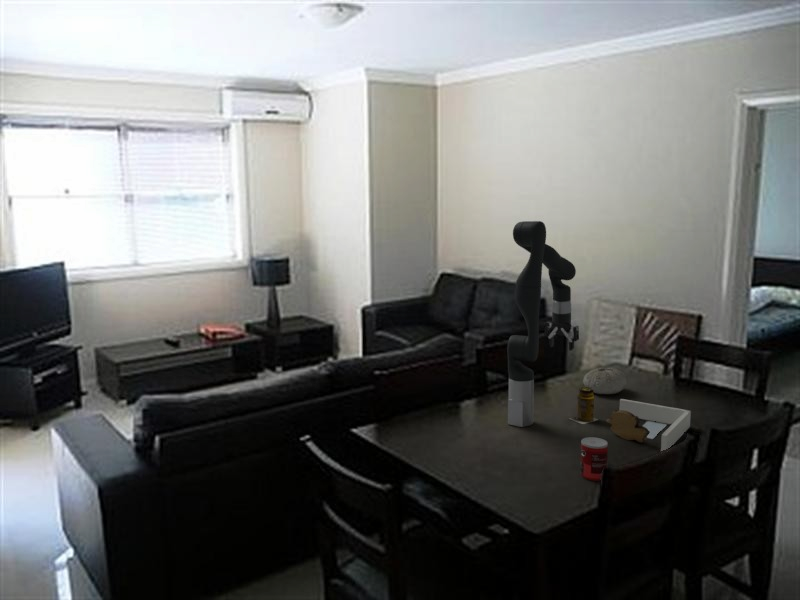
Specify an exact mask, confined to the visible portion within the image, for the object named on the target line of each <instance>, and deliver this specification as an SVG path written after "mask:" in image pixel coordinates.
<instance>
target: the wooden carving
mask: <svg viewBox="0 0 800 600" xmlns="http://www.w3.org/2000/svg"><path fill="white" fill-rule="evenodd" d="M610 416H611V417H609V418H608V419H606V420H605V421H606V422H607V423H608V424H610V425H611V427H609V429H610V430H611V431H612V432H613V433H614V434H615V435H617V436H618V437H620V438H621V439H624V440H627V441H633V440H635V441H637V442H638V443H643V442H645V441H647V439H648V438H647V436H648V434H649V433H650V432H649V431H648V429H647V428H645V427H643V425H639V424H640V419H639V418H638V416H634V415H633V414H632V413H630V412H628V411H624V410H620V411H619V410H618V409H616V410H613V411H612V412H611V415H610Z"/></svg>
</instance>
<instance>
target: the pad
mask: <svg viewBox="0 0 800 600" xmlns="http://www.w3.org/2000/svg"><path fill="white" fill-rule="evenodd" d="M667 425H668V424H666V423H661V422H655V421H650V420H646V421H645V423H644V424H642V426H643V427H645V428H647V429H648V431H649V432H650V433H649V434H648V436H647V438H646V439H649V440H653V439H655V437H656V436H657V434H658V433H659V432H660V431H661V432H662V431H663V429H665V428H667ZM661 432H660V433H661ZM660 433H659V434H660ZM659 434H658V435H659Z"/></svg>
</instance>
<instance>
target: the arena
mask: <svg viewBox="0 0 800 600" xmlns="http://www.w3.org/2000/svg"><path fill="white" fill-rule="evenodd" d="M620 410H624V411H628V412H630V413H632V414H633V415H634V416H638V419H639V420H640V419H641V420H645V421H651V422H655V421H656V423H661V424H667V425H670V426H668V428H667V429H665V431H664V432H663V433H662V434H661V442H660V452H661V451H663V450H666V449H668V448H670V447H671V446H672V445H673V446H674V444H676V442H677V441H678V440H679V439H680V438H681V437H682V436H683V435H684V434H685V433H686V432H687V431H688V429H689V428H690V427H691V416H692V415H691V413H692V411H691V410H688V409H684V408H683V409H682V408H677V407H672V406H670V407H669V406H667V405H666V406H665V405H660V404H653V403H647V402H643V401H638V400H637V401H635V400H631V399H630V400H629V399H626V398H625V399H624V398H620V399H619V410H618V411H620ZM684 432H685V433H684ZM671 448H672V447H671ZM671 448H670V449H671Z"/></svg>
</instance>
